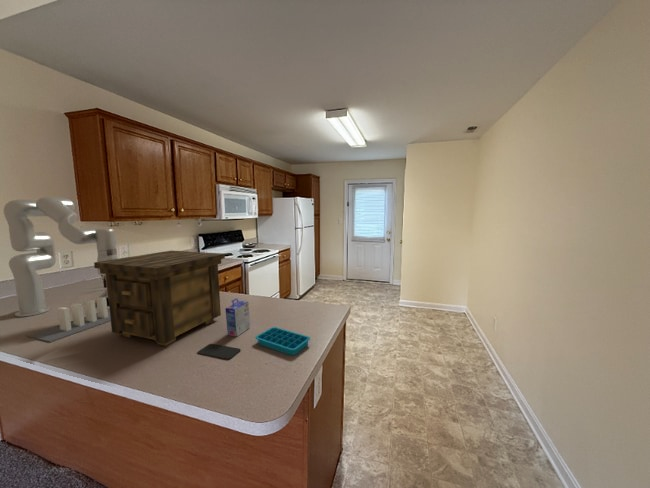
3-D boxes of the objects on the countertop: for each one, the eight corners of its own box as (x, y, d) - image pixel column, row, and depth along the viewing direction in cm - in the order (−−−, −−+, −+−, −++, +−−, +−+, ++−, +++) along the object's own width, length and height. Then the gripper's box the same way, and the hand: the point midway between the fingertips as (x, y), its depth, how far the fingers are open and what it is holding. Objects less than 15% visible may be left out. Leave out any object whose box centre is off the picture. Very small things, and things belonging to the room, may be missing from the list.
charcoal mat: (26, 336, 112) (26, 335, 112) (110, 309, 143) (110, 308, 143) (50, 342, 107) (50, 341, 107) (132, 313, 138) (132, 312, 138)
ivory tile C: (73, 324, 123) (71, 304, 121) (77, 323, 124) (75, 303, 123) (80, 326, 121) (77, 305, 120) (84, 324, 123) (82, 304, 121)
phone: (210, 343, 105) (242, 348, 100) (210, 345, 105) (242, 350, 100) (195, 352, 98) (229, 359, 93) (196, 354, 98) (229, 361, 93)
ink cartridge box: (240, 325, 122) (239, 295, 120) (250, 327, 120) (249, 296, 118) (226, 335, 112) (224, 302, 111) (237, 337, 111) (235, 304, 109)
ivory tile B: (86, 320, 127) (83, 300, 126) (90, 319, 129) (87, 299, 128) (93, 322, 126) (90, 301, 125) (96, 320, 127) (94, 300, 126)
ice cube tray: (273, 333, 115) (273, 326, 114) (311, 344, 104) (311, 337, 104) (254, 344, 105) (253, 337, 105) (294, 358, 95) (293, 350, 94)
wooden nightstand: (228, 318, 130) (224, 253, 126) (163, 353, 98) (156, 268, 94) (175, 309, 142) (171, 250, 138) (102, 339, 110) (94, 262, 106)
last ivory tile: (60, 329, 118) (57, 308, 117) (64, 327, 119) (61, 306, 118) (67, 330, 116) (64, 309, 115) (71, 329, 118) (68, 308, 117)
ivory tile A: (98, 316, 132) (95, 297, 131) (101, 315, 134) (99, 296, 132) (104, 318, 130) (102, 298, 129) (108, 316, 132) (106, 297, 131)
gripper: (87, 253, 132) (92, 288, 134) (110, 254, 127) (114, 291, 129) (104, 251, 139) (108, 284, 141) (126, 252, 134) (130, 286, 136)
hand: (111, 287), depth 135 cm, fingers closed on terracotta tile, 4 cm apart
